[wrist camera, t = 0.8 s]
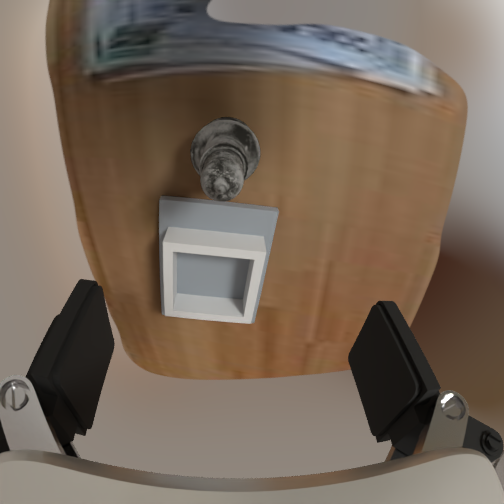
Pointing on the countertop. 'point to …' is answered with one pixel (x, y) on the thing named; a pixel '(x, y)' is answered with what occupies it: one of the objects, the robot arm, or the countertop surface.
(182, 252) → the holder
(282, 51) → the countertop surface
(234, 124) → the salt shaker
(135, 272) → the countertop surface
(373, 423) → the robot arm
